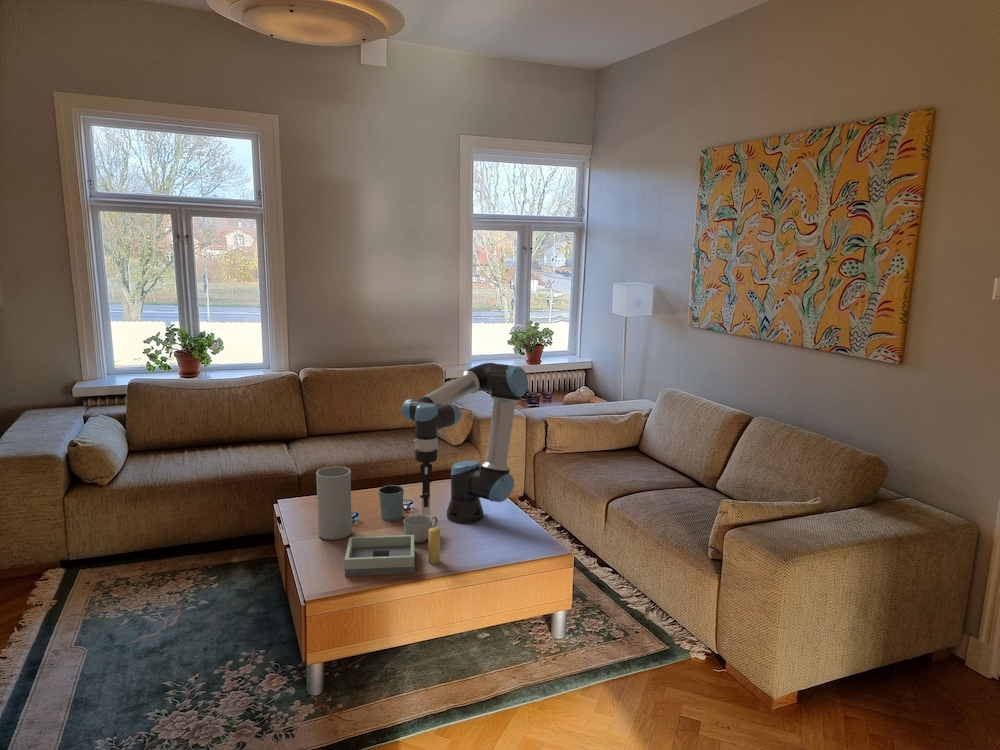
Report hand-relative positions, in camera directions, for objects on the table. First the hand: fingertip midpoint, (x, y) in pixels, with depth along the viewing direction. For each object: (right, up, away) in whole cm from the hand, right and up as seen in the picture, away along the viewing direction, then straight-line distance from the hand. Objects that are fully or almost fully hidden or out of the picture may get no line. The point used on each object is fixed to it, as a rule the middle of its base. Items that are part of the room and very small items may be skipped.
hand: (426, 507), depth 232 cm
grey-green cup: (-19, -12, +41) cm, 47 cm away
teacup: (-4, -16, +21) cm, 27 cm away
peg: (+3, -19, +2) cm, 20 cm away
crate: (-16, -19, +1) cm, 25 cm away
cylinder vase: (-38, -15, +24) cm, 47 cm away
